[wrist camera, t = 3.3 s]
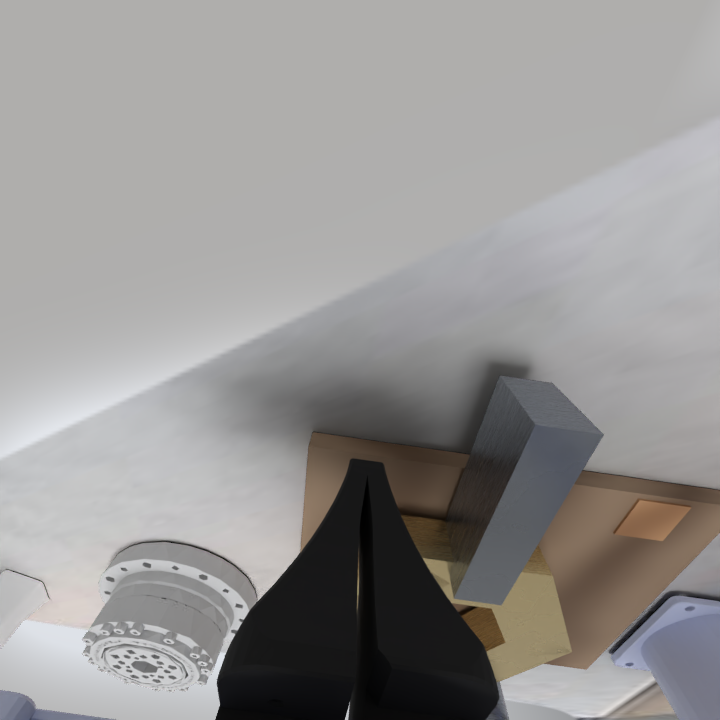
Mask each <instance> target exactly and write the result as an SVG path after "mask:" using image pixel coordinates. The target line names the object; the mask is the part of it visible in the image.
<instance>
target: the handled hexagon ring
mask: <svg viewBox="0 0 720 720" xmlns="http://www.w3.org/2000/svg"><path fill="white" fill-rule="evenodd" d="M603 435H604V434H603V433H602V432H601V431H600V430H599V429H598V428H597V427H596V426H595V425H594V424H593V423H592V422H591V421H590V420H589V419H588V418H587V417H586V416H585V415H584V414H583V413H582V412H581V411H580V410H579V409H578V408H577V407H576V406H575V405H574V404H573V403H572V402H571V401H570V400H569V399H568V398H567V397H566V396H565V395H564V394H563V393H562V392H561V391H560V390H559V389H558V388H557V387H556V386H555V385H554V384H553V383H549V382H542V381H535V380H528V379H521V378H514V377H507V376H499V378H498V381H497V384H496V386H495V389H494V392H493V394H492V397H491V400H490V402H489V405H488V408H487V410H486V413H485V416H484V418H483V421H482V424H481V426H480V429H479V432H478V434H477V437H476V440H475V442H474V445H473V448H472V450H471V453H470V456H469V458H468V461H467V464H466V466H465V469H464V472H463V474H462V477H461V480H460V482H459V485H458V488H457V490H456V493H455V496H454V498H453V501H452V504H451V506H450V509H449V512H448V514H447V517H446V520H445V521H442V520H435V519H428V518H421V517H413V516H406V515H401V516H402V519H403V521H404V523H405V525H406V527H407V530H408V532H409V534H410V536H411V538H412V540H413V542H414V544H415V545H416V547H417V549H418V551H419V553H420V555H421V556H422V558H423V560H424V561H425V563H426V565H427V567H428V568H429V570H430V572H431V573H432V575H433V576H434V578H435V579H436V581H437V582H438V584H439V585H440V587H441V588H442V590H443V591H444V593H445V594H446V596H447V597H448V599H449V600H450V602H451V603H455V604H462V605H469V606H476V607H477V608H475V609H474V610H472V611H470V612H468V613H466V614H464V615H462V616H461V617H462V618H463V619H464V621H465V622H466V623H467V624H468V626H469V627H470V628H471V630H472V631H473V632H474V633H475V635H476V636H477V637H478V638H479V640H480V641H481V642H482V643H483V645H484V647H485V650H486V652H487V655H488V658H489V660H490V663H491V666H492V669H493V672H494V675H495V679H496V682H499V681H502V680H504V679H507V678H509V677H512V676H514V675H517V674H519V673H522V672H524V671H527V670H529V669H531V668H534V667H536V666H539V665H541V664H544V663H546V662H549V661H551V660H554V659H556V658H559V657H561V656H564V655H566V654H569V653H571V652H572V649H571V645H570V641H569V637H568V634H567V630H566V626H565V622H564V618H563V614H562V610H561V606H560V602H559V598H558V594H557V590H556V586H555V582H554V578H553V575H552V573H551V571H550V569H549V567H548V565H547V563H546V560H545V558H544V556H543V554H542V552H541V550H540V548H539V546H538V544H539V542H540V540H541V539H542V537H543V535H544V534H545V532H546V530H547V529H548V527H549V525H550V524H551V522H552V520H553V519H554V517H555V515H556V514H557V512H558V510H559V509H560V507H561V505H562V504H563V502H564V500H565V499H566V497H567V495H568V494H569V492H570V490H571V489H572V487H573V485H574V484H575V482H576V480H577V479H578V477H579V475H580V474H581V472H582V470H583V468H584V467H585V465H586V463H587V462H588V460H589V458H590V457H591V455H592V453H593V452H594V450H595V448H596V447H597V445H598V443H599V442H600V440H601V438H602V437H603ZM358 594H359V551H358V586H357V608H358Z"/></svg>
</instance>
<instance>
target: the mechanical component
mask: <svg viewBox="0 0 720 720" xmlns="http://www.w3.org/2000/svg"><path fill="white" fill-rule="evenodd" d="M99 593H100V596H101V598H102V600H103V602H104V603H105V606H104V607H103V609H102V610H101V612H100V613H99V615H98V616H97V618H96V620H95V621H94V623H93V624H92V626H91V627H90V629H89V631H88V632H87V633H86V634H85V636H84V637H83V639H82V640H83V641H84V642H85V643H86V646H87V647H86V648H85V650H84V652H83V653H82V655H83V656H86V657H90V659H89V660H88V662H89V663H90V664H93V665H98V666H99V667H98V670H99V671H101V672H107V673H108V674H109V675H112V676H114V677H116V678H118V679H120V680H122V681H123V682H124V683H126V684H136V685H139V686H143V687H146V688H152V689H153V690H155V691H160V690H166V691H169V692H174V691H175V690H176V689H179V690H180V691H187V690H188V688H189V686H192V685H194V684H195V683H197V684H198V685H205V684H206V683H207V680H208V677H209V676H210V675H211V674H212V672H213V669H214V666H215V664H216V661H217V658H218V655H219V653H220V650H221V648H222V645H223V643H226V642H228V641H231V640H233V638H234V636H235V634H236V632H237V631H238V629H239V627H240V625H241V624H242V622H243V620H244V619H245V617H246V615H247V614H248V612H249V611H250V609H251V608H252V607H253V606H254V605H255V604H256V600H257V599H256V594H255V590H254V588H253V587H252V585H251V583H250V582H249V580H248V578H247V577H246V576H245V575H243V574H242V573H241V572H240V571H239V570H238V569H237V568H236V567H235V566H233V565H231V564H230V563H228V562H227V561H225V560H224V559H222V558H220V557H218V556H216V555H213V554H211V553H209V552H207V551H204V550H201V549H198V548H194V547H191V546H187V545H181V544H175V543H168V542H156V543H142V544H138V545H134V546H131V547H129V548H127V549H125V550H124V551H122V552H120V553H119V554H118V555H117V556H116V558H115V559H114V560H113V561H112V563H111V564H110V565H109V567H108V568H107V569H106V570H105V572H104V573H103V574H102V576H101V578H100V580H99Z"/></svg>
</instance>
